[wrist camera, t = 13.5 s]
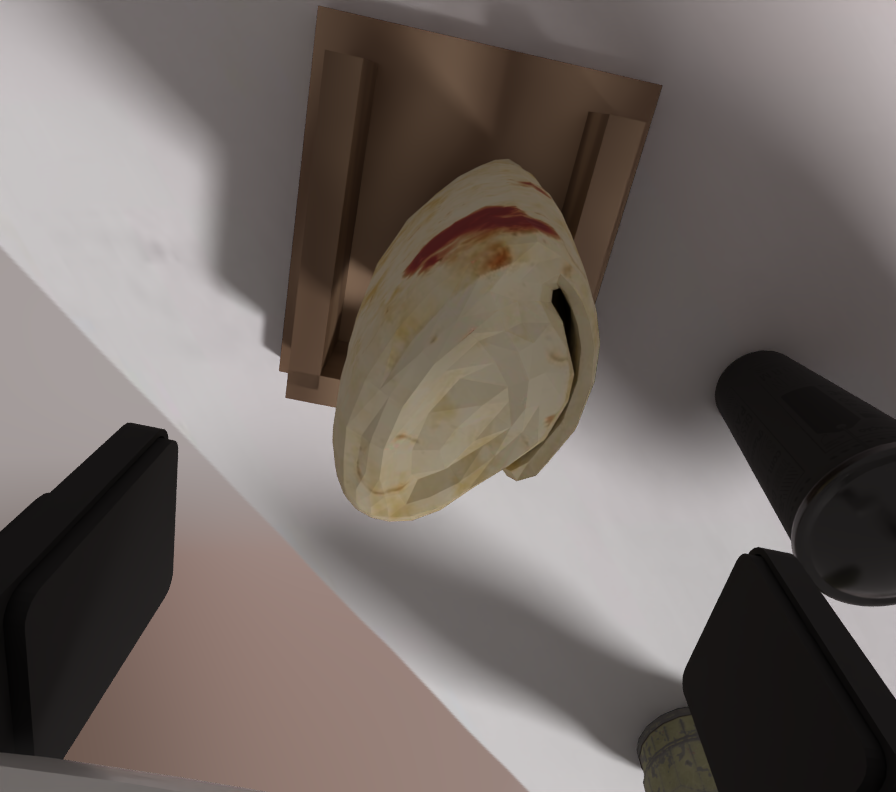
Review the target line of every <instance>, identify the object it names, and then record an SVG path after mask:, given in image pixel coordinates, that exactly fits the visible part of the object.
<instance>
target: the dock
mask: <svg viewBox="0 0 896 792" xmlns="http://www.w3.org/2000/svg"><path fill="white" fill-rule="evenodd" d="M662 86H663V85H659V84H654V83H650V82H646V81H641V80H637V79H633V78H628V77H624V76H620V75H616V74H611V73H607V72H603V71H598V70H594V69H590V68H585V67H581V66H577V65H572V64H568V63H564V62H559V61H555V60H551V59H547V58H542V57H538V56H534V55H529V54H525V53H521V52H516V51H512V50H508V49H503V48H499V47H495V46H490V45H486V44H482V43H478V42H473V41H469V40H465V39H460V38H456V37H452V36H447V35H443V34H439V33H434V32H430V31H426V30H421V29H417V28H413V27H409V26H404V25H400V24H396V23H391V22H387V21H383V20H378V19H374V18H370V17H365V16H361V15H357V14H352V13H348V12H344V11H340V10H335V9H331V8H327V7H322V6H318V12H317V21H316V30H315V40H314V49H313V58H312V68H311V77H310V86H309V96H308V105H307V114H306V124H305V133H304V142H303V152H302V161H301V170H300V180H299V189H298V198H297V208H296V217H295V226H294V236H293V245H292V254H291V264H290V273H289V282H288V292H287V301H286V310H285V320H284V329H283V338H282V348H281V357H280V366H279V371H281V372H286V373H288V379H287V388H286V397H285V398H289V399H294V400H299V401H305V402H310V403H315V404H320V405H325V406H330V407H336V405H337V398H338V392H339V385H340V379H341V374H342V371H343V367H344V364H345V361H346V358H347V352H348V346H349V342H350V338H351V335H352V332H353V328H354V325H355V321H356V317H357V314H358V312H359V309H360V306H361V304H362V301H363V298H364V296H365V293H366V291H367V288H368V286H369V283H370V281H371V278H372V276H373V273H374V271H375V268H376V266H377V263H378V262H379V260H380V259H381V257H382V256H383V255H384V253H385V252H386V250H387V249H388V247H389V246H390V245H391V243H392V242H393V240H394V239H395V238H396V236H397V235H398V233H399V232H400V230H401V229H402V227H403V226H404V224H405V222H406V221H407V220H408V219H409V218H410V217H411V216H412V215H413V214H414V213H415V212H417V211H418V210H419V209H420V208H421V207H422V206H423V205H424V204H426V203H427V202H428V201H429V200H430V199H431V198H432V197H433V196H434V195H435V194H436V193H438V192H439V191H440V190H442V189H443V188H444V187H446V186H447V185H448V184H450V183H451V182H452V181H453V180H455V179H456V178H457V177H459V176H461V175H463V174H465V173H467V172H469V171H471V170H473V169H475V168H477V167H479V166H481V165H483V164H486V163H488V162H491V161H494V160H500V159H510V160H511V161H513V162H515V163H516V164H518V165H520V166H521V167H522V169H524V170H525V171H527V172H529V173H531V174H532V175H533V176H534V177H535V178H536V180H537V181H538V182H539V184H540V185H541V187H542V188H543V189H544V190H545V191H546V192H548V193H549V194H550V196H551V197H552V199H553V200H554V202H555V204H556V205H557V207H558V208H559V210H560V211H561V213H562V215H563V217H564V220H565V222H566V224H567V226H568V229H569V231H570V233H571V235H572V238H573V240H574V243H575V246H576V248H577V251H578V253H579V256H580V259H581V261H582V264H583V267H584V270H585V273H586V275H587V279H588V283H589V286H590V290H591V294H592V297H593V301H594V304H595V302H596V299H597V296H598V293H599V289H600V286H601V283H602V280H603V276H604V273H605V270H606V267H607V263H608V260H609V257H610V254H611V251H612V247H613V244H614V241H615V238H616V234H617V231H618V228H619V225H620V221H621V218H622V215H623V212H624V208H625V205H626V202H627V199H628V196H629V192H630V189H631V186H632V183H633V179H634V176H635V173H636V170H637V166H638V163H639V160H640V157H641V153H642V150H643V147H644V144H645V141H646V137H647V134H648V131H649V128H650V124H651V121H652V118H653V115H654V111H655V108H656V105H657V102H658V98H659V95H660V92H661V89H662Z"/></svg>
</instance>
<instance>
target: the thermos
mask: <svg viewBox="0 0 896 792" xmlns="http://www.w3.org/2000/svg"><path fill="white" fill-rule="evenodd" d="M637 752H638V756H639V760H640V764H641V768H642V770H643V771H644V780H643V784H644V788H645V792H718V790H717V787H716V784H715V781H714V778H713V775H712V773H711V770H710V767H709V764H708V761H707V758H706V755H705V753H704V750H703V747H702V744H701V741H700V738H699V735H698V732H697V730H696V727H695V724H694V721H693V718H692V715H691V712H690V710H689V707H686V708H680V709H676V710H674V711H671V712H669V713H667V714H664V715H662V716H660V717H659V718H657V719H656V720H655V721H653V722H652V723H651V724H650V725H648V726H647V727H646V729H645V730H644V732H643V733H642V735H641V736H640V738H639V742H638V747H637Z"/></svg>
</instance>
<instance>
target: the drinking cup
mask: <svg viewBox="0 0 896 792" xmlns="http://www.w3.org/2000/svg"><path fill="white" fill-rule="evenodd" d="M715 399H716V404H717V407H718V409H719V411H720V413H721V415H722V417H723V419H724V420H725V422H726V424H727V426H728V428H729V429H730V431H731V433H732V435H733V437H734V438H735V440H736V442H737V444H738V446H739V447H740V449H741V451H742V453H743V455H744V457H745V458H746V460H747V462H748V464H749V466H750V467H751V469H752V471H753V473H754V475H755V476H756V478H757V480H758V482H759V484H760V485H761V487H762V489H763V491H764V493H765V494H766V496H767V498H768V500H769V502H770V504H771V505H772V507H773V509H774V511H775V513H776V514H777V516H778V518H779V520H780V522H781V523H782V525H783V527H784V529H785V531H786V532H787V534H788V536H789V538H790V540H791V546H792V552H793V555H794V556H795V557H796V558H797V559H798V560H799V562H800V563H801V565H802V566H803V567H804V569H805V570H806V572H807V573H808V575H809V576H810V577H811V579H812V580H813V582H814V583H815V585H816V586H817V587H818V589H819V590H820V592H821V593H823V594H825V595H827V596H829V597H831V598H833V599H835V600H838V601H841V602H844V603H848V604H852V605H859V606H889V605H895V604H896V420H895V419H894V418H892V417H890V416H889V415H887V414H885V413H883V412H882V411H880V410H878V409H877V408H875V407H873V406H871V405H870V404H868V403H866V402H864V401H863V400H861V399H859V398H858V397H856V396H854V395H852V394H851V393H849V392H847V391H846V390H844V389H842V388H840V387H839V386H837V385H835V384H833V383H832V382H830V381H828V380H827V379H825V378H823V377H821V376H820V375H818V374H816V373H815V372H813V371H811V370H809V369H808V368H806V367H804V366H802V365H801V364H799V363H797V362H796V361H794V360H792V359H790V358H789V357H787V356H785V355H783V354H781V353H778V352H773V351H758V352H753V353H750V354H747V355H745V356H742V357H741V358H739V359H737V360H736V361H734V362H733V363H732V364H731V365H730V366H729V367H728V368H727V369H726V370H725V371H724V372H723V374H722V375H721V377H720V379H719V381H718V384H717V387H716V392H715Z"/></svg>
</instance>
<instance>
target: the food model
mask: <svg viewBox="0 0 896 792" xmlns="http://www.w3.org/2000/svg"><path fill="white" fill-rule="evenodd" d="M599 348H600V338H599V329H598V320H597V312H596V308H595V304H594V301H593V297H592V294H591V290H590V286H589V283H588V279H587V275H586V273H585V270H584V267H583V264H582V261H581V259H580V256H579V253H578V251H577V248H576V246H575V243H574V240H573V238H572V235H571V233H570V231H569V229H568V226H567V224H566V222H565V220H564V217H563V215H562V213H561V211H560V210H559V208H558V207H557V205H556V204H555V202H554V200H553V199H552V197H551V196H550V194H549V193H548V192H546V191H545V190H544V189H543V188H542V187H541V185H540V184H539V182H538V181H537V180H536V178H535V177H534V176H533V175H532V174H531V173H529V172H527V171H525V170H524V169H522V167H521V166H520V165H518V164H516V163H515V162H513V161H511V160H510V159H500V160H494V161H491V162H488V163H486V164H483V165H481V166H479V167H477V168H475V169H473V170H471V171H469V172H467V173H465V174H463V175H461V176H459V177H457V178H456V179H455V180H453V181H452V182H451V183H450V184H448V185H447V186H446V187H444V188H443V189H442V190H440V191H439V192H438V193H436V194H435V195H434V196H433V197H432V198H431V199H430V200H429V201H428V202H427V203H426V204H424V205H423V206H422V207H421V208H420V209H419V210H418V211H417V212H415V213H414V214H413V215H412V216H411V217H410V218H409V219H408V220H407V221H406V222H405V224H404V226H403V227H402V229H401V230H400V232H399V233H398V235H397V236H396V238H395V239H394V240H393V242H392V243H391V245H390V246H389V247H388V249H387V250H386V252H385V253H384V255H383V256H382V257H381V259H380V260H379V262H378V263H377V266H376V268H375V271H374V273H373V276H372V278H371V281H370V283H369V286H368V288H367V291H366V293H365V296H364V298H363V301H362V304H361V306H360V309H359V312H358V314H357V317H356V321H355V325H354V328H353V332H352V335H351V338H350V342H349V346H348V352H347V358H346V361H345V364H344V367H343V371H342V374H341V379H340V385H339V392H338V398H337V405H336V412H335V418H334V425H333V449H334V458H335V466H336V472H337V477H338V479H339V482H340V485H341V488H342V490H343V493H344V494H345V496H346V497H347V499H348V500H349V501H350V502H351V504H352V505H353V506H354V507H355V508H356V509H357V510H359V511H361V512H362V513H364V514H366V515H368V516H369V517H371V518H376V519H380V520H385V521H389V522H391V521H411V520H415V519H417V518H420V517H423V516H425V515H428V514H431V513H433V512H436V511H439V510H441V509H442V508H444V507H445V506H447V505H448V504H450V503H451V502H453V501H454V500H456V499H457V498H459V497H460V496H461V495H463V494H464V493H466V492H467V491H469V490H470V489H472V488H473V487H475V486H477V485H478V484H480V483H481V482H483V481H485V480H486V479H488V478H490V477H491V476H493V475H494V474H496V473H498V472H499V471H501V470H503V471H504V472H505V474H506V475H507V476H508V477H510V478H512V479H514V480H516V481H519V480H522V479H526V478H529V477H533V476H536V475H537V474H538V473H539V472H540V471H541V469H542V468H543V467H544V466H545V465H546V464H547V463H548V462H549V461H550V459H551V458H552V457H553V456H554V455H555V453H556V452H557V451H558V450H559V449H560V447H561V446H562V445H563V444H564V443H565V441H566V440H567V439H568V438H569V437H570V435H571V434H572V433H573V432H574V431H575V429H576V427H577V425H578V422H579V420H580V417H581V415H582V412H583V410H584V407H585V405H586V402H587V399H588V397H589V394H590V392H591V389H592V387H593V384H594V382H595V376H596V369H597V362H598V355H599Z"/></svg>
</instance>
